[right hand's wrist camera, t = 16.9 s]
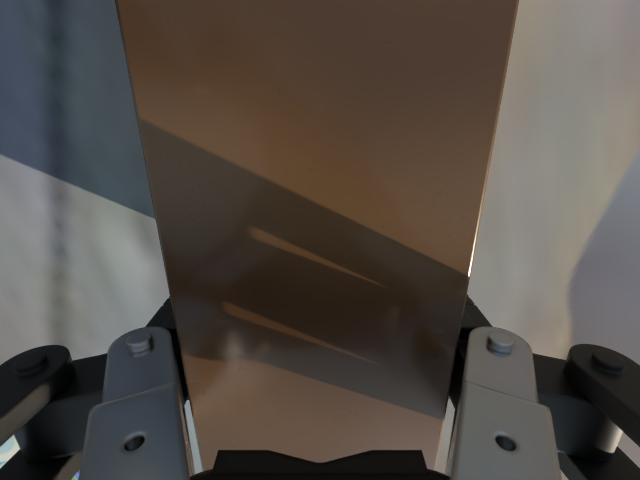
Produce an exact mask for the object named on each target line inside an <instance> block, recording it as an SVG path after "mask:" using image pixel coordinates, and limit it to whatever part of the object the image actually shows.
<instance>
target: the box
mask: <svg viewBox="0 0 640 480" xmlns="http://www.w3.org/2000/svg"><path fill="white" fill-rule="evenodd" d="M115 2H116V8H117V13H118V19H119V24H120V29H121V35H122V40H123V45H124V51H125V56H126V62H127V67H128V72H129V78H130V83H131V88H132V94H133V99H134V105H135V110H136V115H137V121H138V126H139V132H140V137H141V142H142V148H143V153H144V158H145V164H146V169H147V175H148V180H149V185H150V191H151V196H152V202H153V207H154V212H155V218H156V223H157V228H158V234H159V239H160V245H161V250H162V255H163V261H164V266H165V271H166V277H167V282H168V288H169V293H170V298H171V304H172V309H173V315H174V320H175V325H176V331H177V336H178V341H179V347H180V352H181V358H182V363H183V368H184V374H185V379H186V385H187V390H188V395H189V401H190V406H191V411H192V417H193V422H194V428H195V433H196V438H197V444H198V449H199V454H200V460H201V465H202V471H206V470H209V469H213V466H214V463H215V459H216V456H217V453H218V450H270V451H274V452H278V453H282V454H286V455H289V456H293V457H297V458H301V459H305V460H309V461H312V462H317V463H323V462H328V461H331V460H335V459H339V458H343V457H347V456H351V455H354V454H358V453H362V452H366V451H370V450H422V453H423V456H424V459H425V463H426V466H427V469H431V470H434V471H435V470H436V464H437V459H438V453H439V447H440V442H441V436H442V431H443V425H444V419H445V414H446V408H447V402H448V397H449V391H450V386H451V380H452V374H453V369H454V363H455V358H456V352H457V346H458V341H459V335H460V329H461V324H462V318H463V313H464V307H465V301H466V296H467V290H468V284H469V279H470V273H471V268H472V262H473V256H474V251H475V245H476V239H477V234H478V228H479V223H480V217H481V211H482V206H483V200H484V194H485V189H486V183H487V178H488V172H489V166H490V161H491V155H492V150H493V144H494V138H495V133H496V127H497V121H498V116H499V110H500V105H501V99H502V93H503V88H504V82H505V76H506V71H507V65H508V60H509V54H510V48H511V43H512V37H513V31H514V26H515V20H516V15H517V9H518V3H519V0H115Z"/></svg>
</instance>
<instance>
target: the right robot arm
mask: <svg viewBox="0 0 640 480" xmlns="http://www.w3.org/2000/svg"><path fill="white" fill-rule="evenodd" d="M448 399H451V401H452V403H453V406H454V408H455V413H454V418H453V424H452V431H451V437H450V444H449V450H448V457H447V463H446V470H445V474H442V473H440V472H437V471H434V470H431V469H427V466H426V463H425V459H424V456H423V453H422V450H370V451H366V452H362V453H358V454H354V455H351V456H347V457H343V458H339V459H335V460H331V461H328V462H323V463H317V462H312V461H309V460H305V459H301V458H297V457H293V456H289V455H286V454H282V453H278V452H274V451H270V450H218V453H217V456H216V459H215V463H214V466H213V469H209V470H206V471H203V472H200V473H198V474H195V469H194V463H193V457H192V450H191V444H190V437H189V431H188V424H187V418H186V412H185V407H184V405H185V403H186V401H187V400H189V395H188V390H187V385H186V379H185V374H184V368H183V363H182V358H181V352H180V347H179V341H178V336H177V331H176V325H175V320H174V315H173V309H172V304H171V298H170V296H169V298H168V299H167V300H166V301H165V303H164V304H163V306H161V308H160V309H159V310H158V312H157V313H156V314H155V315H154V317H153V318H152V319H151V320H150V322H149V323H148V324H147V325H146V327H144V328H139V329H136V330H133V331H130V332H128V333H126V334H124V335H122V336H120V337H119V338H118V339H116V340H115V341H114V342H113V343H112V344H111V345H110V347H109V349H108V353H106V354H103V355H98V356H93V357H88V358H83V359H79V360H74V361H72V358H71V355H70V352H69V350H68V349H67V348H66V347H64V346H60V345H47V346H41V347H37V348H34V349H31V350H28V351H25V352H23V353H20V354H18V355H16V356H14V357H13V358H11V359H9V360H8V361H6V362H4V363H3V364H2V365H0V447H1V446H2V445H3V444H4V443H5V442H6V441H7V440H8V439H9V438H11V437H12V436H13V435H14V436H15V439H16V441H17V443H18V445H19V448H20V449H19V450H18V451H17V452H16V453H15V454H14V455H13V456H12V457H11V458H10V459H9V460H8V461H7V462H6V463H5V464H4V465H3V466H2V467H1V468H0V480H71V479H72V478H73V477H74V476H75V474H76V473H77V472H78V471H79V469H80V472H79V478H78V480H562V478H561V472H560V469H561V470H562V472H563V473H564V474H565V476H566V477H567V478H568V479H569V480H640V468H639V467H638V466H637V465H636V464H635V463H634V462H633V461H632V460H631V459H630V458H629V457H628V456H627V455H626V454H625V453H624V452H622V450H621V449H619V448H618V447H617V445H618V442H619V440H620V438H621V436H622V433H623V432H624V433H625V434H626V435H627V436H628V437H629V438H631V439H632V440H633V441H634V442H635V443H636V444H637V445H638V446H639V447H640V365H638V364H637V363H635V362H634V361H633V360H631V359H629V358H628V357H626V356H624V355H622V354H620V353H618V352H616V351H613V350H611V349H608V348H605V347H601V346H597V345H591V344H579V345H575V346H573V347H571V349H570V350H569V353H568V356H567V359H566V360H562V359H557V358H552V357H547V356H542V355H538V354H533V353H532V349H531V347H530V345H529V344H528V343H527V342H526V341H525V340H524V339H522V338H521V337H520V336H518V335H516V334H514V333H512V332H510V331H507V330H504V329H501V328H496V327H492V325H491V324H490V323H489V322H488V320H487V319H486V318H485V317H484V315H483V314H482V313H481V311H480V310H479V309H478V308H477V306H476V305H474V302H473V301H472V300H471V299H470V298H469V297H468V295H467V296H466V301H465V307H464V313H463V318H462V324H461V329H460V335H459V341H458V346H457V352H456V358H455V363H454V369H453V374H452V380H451V386H450V391H449V397H448Z"/></svg>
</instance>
